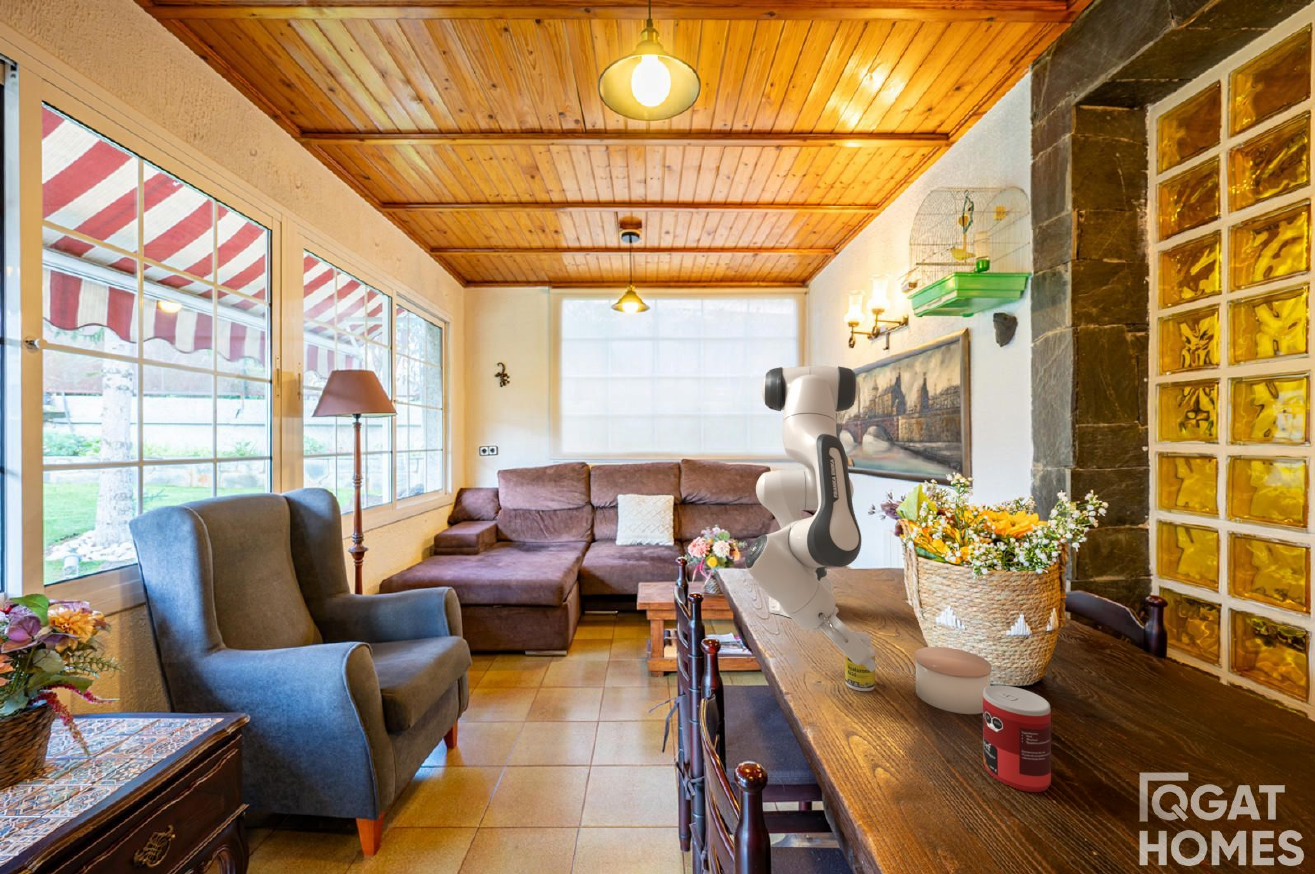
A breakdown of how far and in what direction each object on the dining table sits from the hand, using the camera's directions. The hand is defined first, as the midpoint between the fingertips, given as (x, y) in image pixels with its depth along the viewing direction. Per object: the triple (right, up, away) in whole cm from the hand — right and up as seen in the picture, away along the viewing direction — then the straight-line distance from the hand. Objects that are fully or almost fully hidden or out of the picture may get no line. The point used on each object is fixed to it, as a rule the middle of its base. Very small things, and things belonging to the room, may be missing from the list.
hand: (863, 657), depth 104 cm
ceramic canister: (+14, -6, -5) cm, 16 cm away
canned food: (+11, -5, -28) cm, 30 cm away
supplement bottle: (-1, -6, 0) cm, 6 cm away
